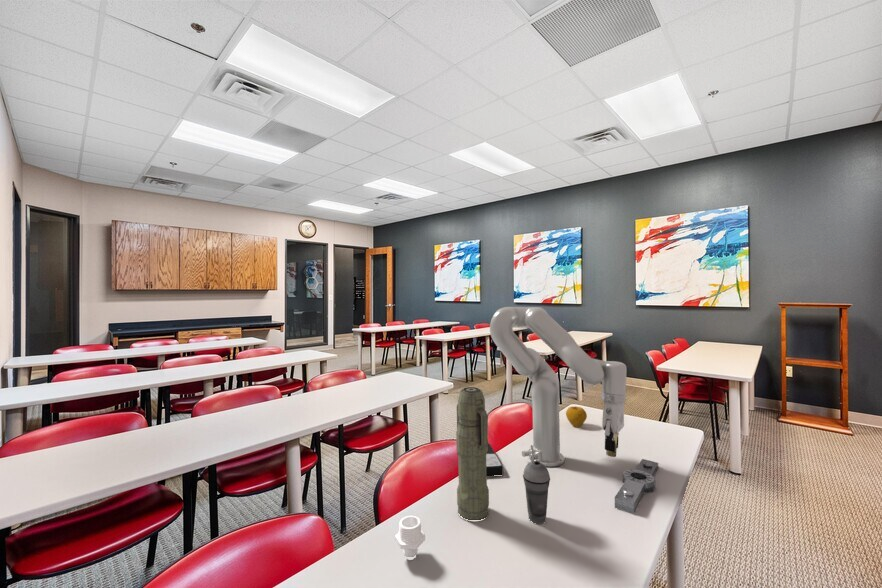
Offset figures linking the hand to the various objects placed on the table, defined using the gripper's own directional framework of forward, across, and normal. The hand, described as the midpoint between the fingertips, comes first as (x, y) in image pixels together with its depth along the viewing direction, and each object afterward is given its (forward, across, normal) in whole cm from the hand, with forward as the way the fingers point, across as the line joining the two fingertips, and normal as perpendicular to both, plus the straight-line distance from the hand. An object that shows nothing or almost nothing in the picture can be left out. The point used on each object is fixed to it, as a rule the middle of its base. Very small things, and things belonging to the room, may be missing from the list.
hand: (611, 448), depth 128 cm
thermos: (+9, -52, +22) cm, 57 cm away
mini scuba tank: (+8, -44, +7) cm, 45 cm away
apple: (+7, +32, +24) cm, 40 cm away
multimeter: (+9, -27, +38) cm, 47 cm away
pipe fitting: (+9, -75, +24) cm, 79 cm away
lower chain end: (+6, -1, -10) cm, 12 cm away
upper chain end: (+6, -14, -10) cm, 19 cm away
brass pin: (+2, 0, 0) cm, 2 cm away
